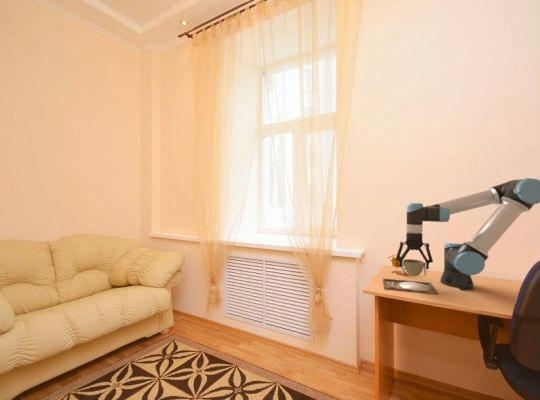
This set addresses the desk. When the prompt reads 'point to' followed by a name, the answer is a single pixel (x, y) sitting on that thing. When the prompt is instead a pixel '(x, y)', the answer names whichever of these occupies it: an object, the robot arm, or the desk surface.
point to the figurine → (396, 265)
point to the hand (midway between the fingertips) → (413, 274)
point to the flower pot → (413, 266)
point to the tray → (396, 287)
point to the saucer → (414, 286)
